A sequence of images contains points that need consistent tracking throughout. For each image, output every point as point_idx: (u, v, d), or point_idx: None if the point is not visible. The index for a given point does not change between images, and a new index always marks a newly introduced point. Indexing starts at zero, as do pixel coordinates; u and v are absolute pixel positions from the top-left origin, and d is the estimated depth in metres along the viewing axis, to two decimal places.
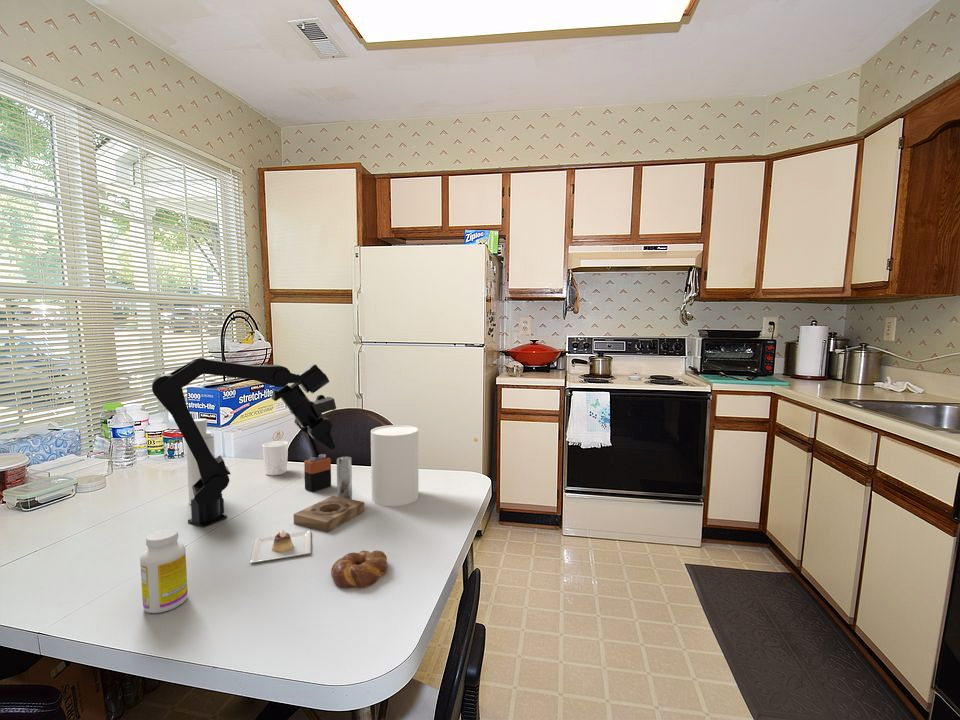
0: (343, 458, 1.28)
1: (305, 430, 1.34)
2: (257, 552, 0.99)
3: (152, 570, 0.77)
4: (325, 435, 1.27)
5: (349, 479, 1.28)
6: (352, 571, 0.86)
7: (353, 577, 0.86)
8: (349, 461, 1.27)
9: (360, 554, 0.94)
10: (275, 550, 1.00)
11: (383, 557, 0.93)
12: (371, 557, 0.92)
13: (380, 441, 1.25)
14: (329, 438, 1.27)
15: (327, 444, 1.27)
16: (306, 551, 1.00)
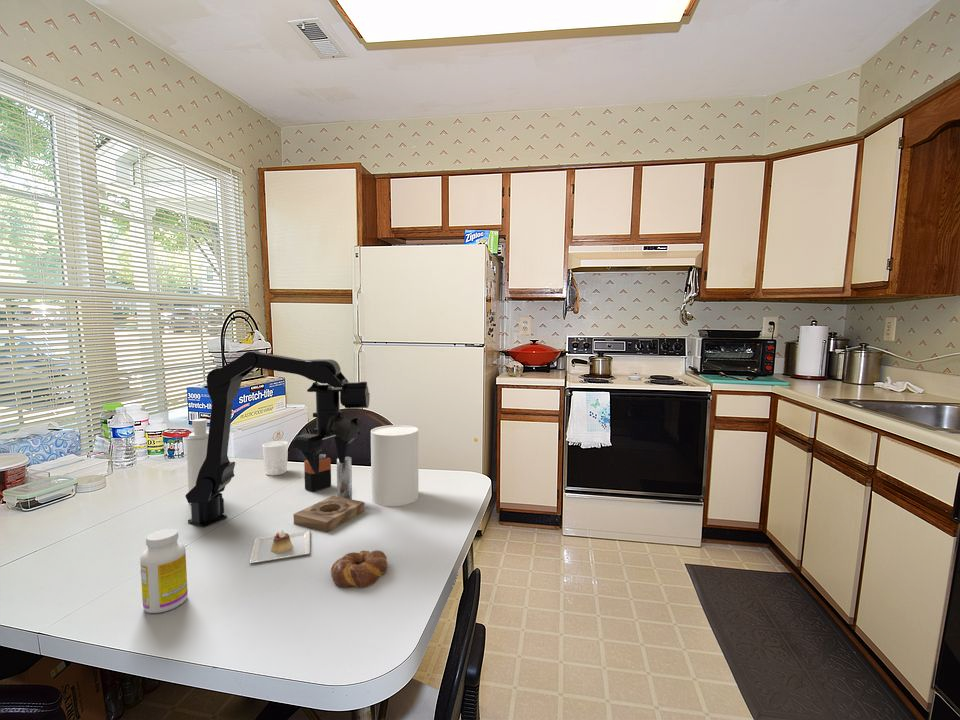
0: None
1: (335, 438, 1.23)
2: (256, 552, 0.99)
3: (152, 570, 0.77)
4: (312, 454, 1.12)
5: (349, 479, 1.28)
6: (352, 571, 0.87)
7: (352, 577, 0.86)
8: (349, 461, 1.27)
9: (360, 554, 0.94)
10: (274, 550, 1.00)
11: (383, 557, 0.93)
12: (371, 557, 0.92)
13: (380, 441, 1.25)
14: (313, 460, 1.12)
15: (310, 463, 1.13)
16: (305, 551, 1.00)
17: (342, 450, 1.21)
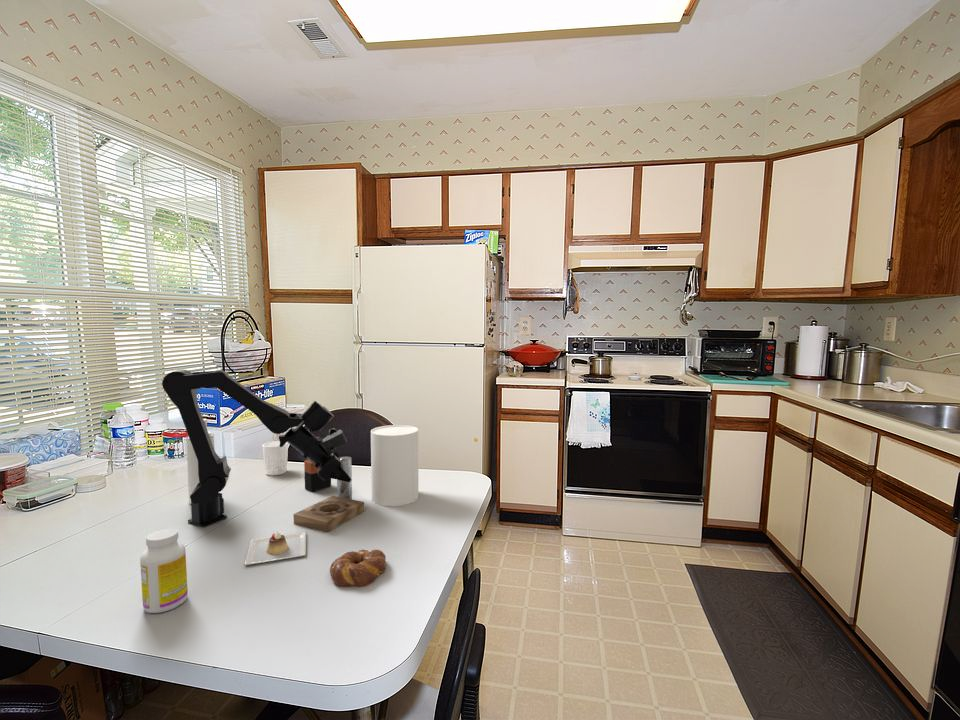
0: (343, 458, 1.28)
1: None
2: (251, 554, 0.98)
3: (152, 570, 0.77)
4: (337, 470, 1.24)
5: None
6: (350, 570, 0.87)
7: (351, 576, 0.86)
8: (349, 461, 1.27)
9: (359, 553, 0.94)
10: (270, 552, 0.99)
11: (382, 556, 0.93)
12: (370, 556, 0.92)
13: (380, 441, 1.25)
14: (342, 472, 1.25)
15: (341, 478, 1.25)
16: (301, 553, 0.99)
17: None
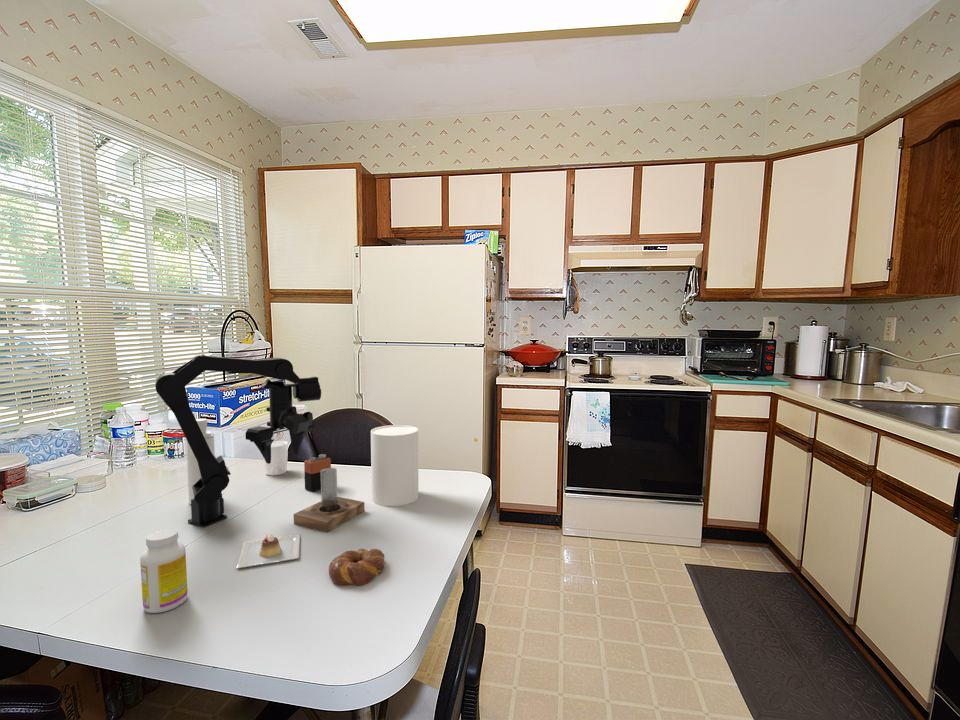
0: (328, 470, 1.18)
1: (290, 432, 1.31)
2: (244, 557, 0.97)
3: (152, 570, 0.77)
4: (264, 445, 1.20)
5: (332, 493, 1.16)
6: (349, 569, 0.87)
7: (349, 575, 0.87)
8: (332, 474, 1.16)
9: (358, 552, 0.95)
10: (263, 555, 0.98)
11: (380, 555, 0.93)
12: (368, 555, 0.92)
13: (380, 441, 1.25)
14: (265, 451, 1.20)
15: (263, 454, 1.21)
16: (294, 556, 0.98)
17: (296, 442, 1.30)
